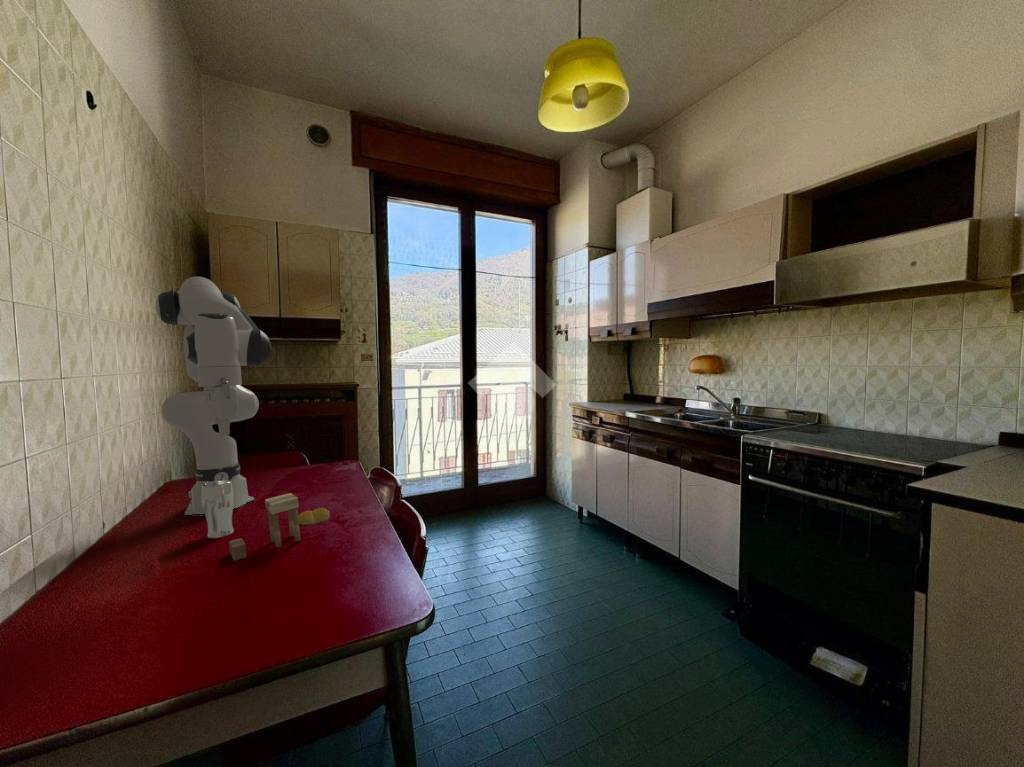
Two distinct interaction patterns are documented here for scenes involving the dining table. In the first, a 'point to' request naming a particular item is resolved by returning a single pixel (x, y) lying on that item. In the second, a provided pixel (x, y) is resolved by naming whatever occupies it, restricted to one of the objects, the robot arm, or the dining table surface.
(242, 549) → the prop block
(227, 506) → the beer glass
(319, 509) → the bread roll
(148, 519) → the dining table surface
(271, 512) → the stool
